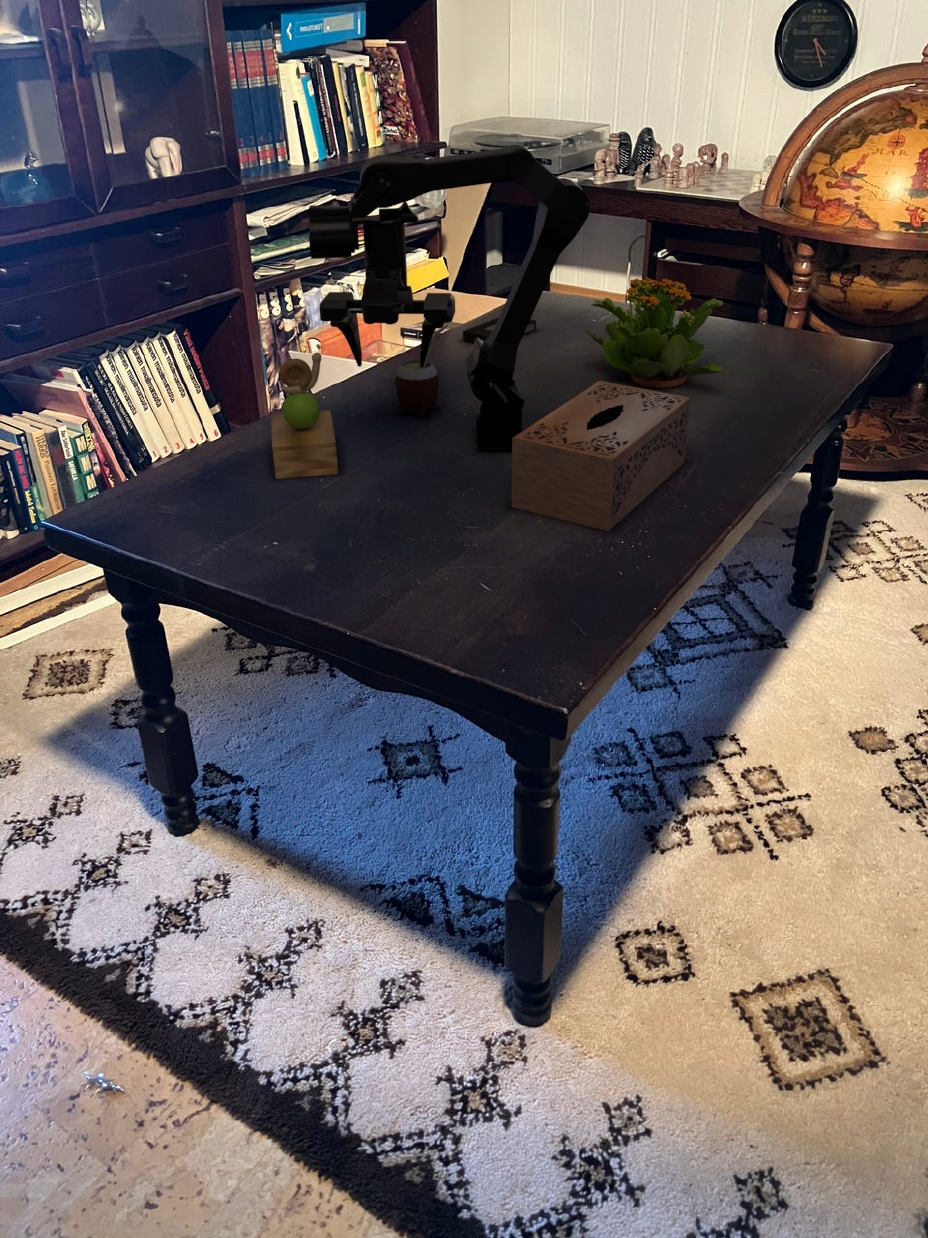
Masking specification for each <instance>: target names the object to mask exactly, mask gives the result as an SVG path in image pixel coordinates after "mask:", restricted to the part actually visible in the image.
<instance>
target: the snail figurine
mask: <svg viewBox="0 0 928 1238" xmlns="http://www.w3.org/2000/svg"><path fill="white" fill-rule="evenodd" d="M315 346H316V349H318V352H314V353H313V354H312V355H311V360H312V366H311V367H310V365H309V364H308V362H306V361H305V360H304V359H301V358H290V359H287V360H286V361H284V363H283V364H282V365H281V367H280V369H279V378H280V380H281V382H282V383H283V384H284V385H285V386H281V388H280V389H281V390H282V391H283V392H285V393H286V394H288V396H286V398H285V399H284V401H283V403H282V407H281V412H282V413H281V414H283V416H284V419H285V420H286V422H287V423H288V424H289V425H291V426H292V427H294V428H297V429H306V428H309V427H311V426H312V425H314V424H315V422H316V421H317V420H318V417H319V414H320V411H321V408H320V403H319V402H318V400H317V398H316V397H315V396H314V395H312V394H311V393H310V392H309V391H310V390H312V389H313V388H314V387H315V386H316V384H317V382H318V380H319V375H320V370H321V361H322V354H321V352H320V351H321V349H322V347H321V345H320V343H317V344H316V345H315Z"/></svg>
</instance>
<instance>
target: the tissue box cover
mask: <svg viewBox="0 0 928 1238" xmlns="http://www.w3.org/2000/svg"><path fill="white" fill-rule="evenodd" d="M691 402H692V397H690V396H685V395H680V394H673V393H669V392H663V391H657V390H652V389H648V388H647V389H646V388H641V387H637V386H630V385H624V384H620V383H613V382H608V381H603V380H598V381H596V382H595V383H593V384H592V385H590V386H589V387H587V388H586V389H584V390H583V391H581V392H579V393H578V394H576V395H575V396H574V397H572V398H571V399H569V400H568V401H566V402H565V403H563V404H562V405H559V406H558V407H557V408H555V409H554V410H552V411H550V412H549V413H547V414H546V415H544V416H543V417H542V418H540V419H538V420H537V421H536V422H534V423H532V424H531V425H529V426H528V427H526V428H525V429H522V432H520V433H519V434H517V435H516V436H514V437H513V438H512V451H511V507H512V508H515V509H518V510H522V511H526V512H530V513H534V514H537V515H541V516H546V517H549V518H554V519H558V520H561V521H565V522H569V523H573V524H577V525H580V526H585V527H589V528H592V529H597V530H601V531H604V532H609V531H611V530H612V529H613V528H614V527H615V526H616V525H617V524H619V522H621V521H622V520H623V519H624V518H625V517H626V516H627V515H629V513H631V511H633V510H634V509H635V508H636V507H637V506H638V505H640V504H641V503H642V502H643V501H644V500H645V499H646V498H647V497H648V496H650V494H651V493H653V492H654V491H655V490H656V489H657V488H659V487H660V486H661V485H662V484H663V483H664V482H665V481H666V480H668V478H669V477H671V475H672V474H674V473H675V472H676V471H677V470H678V469H679V468H680V467H682V465H684V464H685V462H686V460H685V459H686V452H687V451H686V450H687V439H688V431H689V423H690V422H689V421H690V412H691Z"/></svg>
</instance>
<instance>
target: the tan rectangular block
mask: <svg viewBox="0 0 928 1238" xmlns="http://www.w3.org/2000/svg"><path fill="white" fill-rule="evenodd" d="M331 412H332V411H331V410H330V409H328V410H320V414H319V417H318V420H317V421H316V422H315V424H314V425H312V426H311V427H309V428H306V429H297V428H294V427H292V426H291V425H289V424H288V423H287V422H286V420H285V419H284V416H283V413H275V414H274V413H272V414H270V422H271V426H270V427H271V448H272V449H271V450H272V458H273V466H274V467H273V468H274V473H275V474H274V475H275V479H276V480H277V479H278V480H281V479H282V480H283V479H293V478H295V479H296V478H305V477H318V476H319V477H320V476H333V475H338V474H339V466H338V455H337V453H338V452H337V442H336V436H335V435H336V434H335V430H334V429H335V428H334V423H333V418H332V417H333V416H332V413H331Z"/></svg>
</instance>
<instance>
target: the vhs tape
mask: <svg viewBox="0 0 928 1238" xmlns="http://www.w3.org/2000/svg"><path fill="white" fill-rule="evenodd" d="M498 319H499V317H497V318H493V319H492V320H487V321H486V322H483V323H480V324H478V325H475V326H473V327H470V328H467V329H465V330H462V341H463V342H467V343H471V344H474V342H475V339H476V338H479V339H481V340H482V341H485V340H486V339H487V338H488V337H489V335H490V334H491V333H492V332H493V330H494V328H495V326H496V323H497V321H498ZM535 331H537V320H535V319H532V318H531V319H530V321H529V323H528V326H527V328H526V330H525V332H524V334H523V336H525V335H528V334H530V333H533V332H535Z"/></svg>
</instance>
